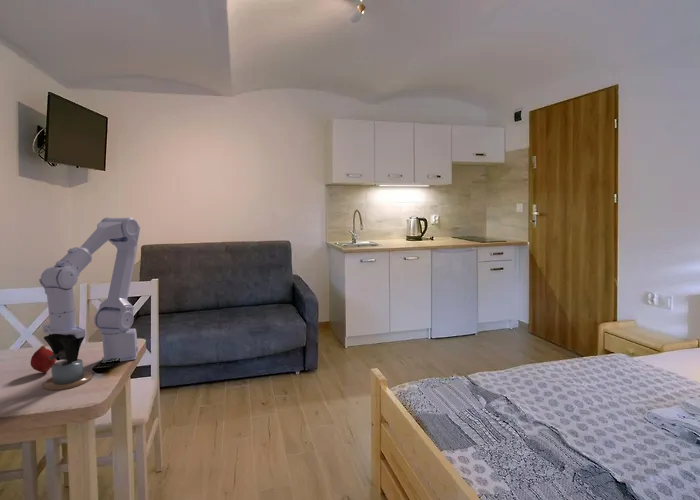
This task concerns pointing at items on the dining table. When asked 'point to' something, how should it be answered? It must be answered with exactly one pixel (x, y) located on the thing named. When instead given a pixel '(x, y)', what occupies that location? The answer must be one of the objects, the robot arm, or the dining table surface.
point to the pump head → (59, 355)
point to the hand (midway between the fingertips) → (66, 360)
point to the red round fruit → (42, 360)
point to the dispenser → (67, 375)
